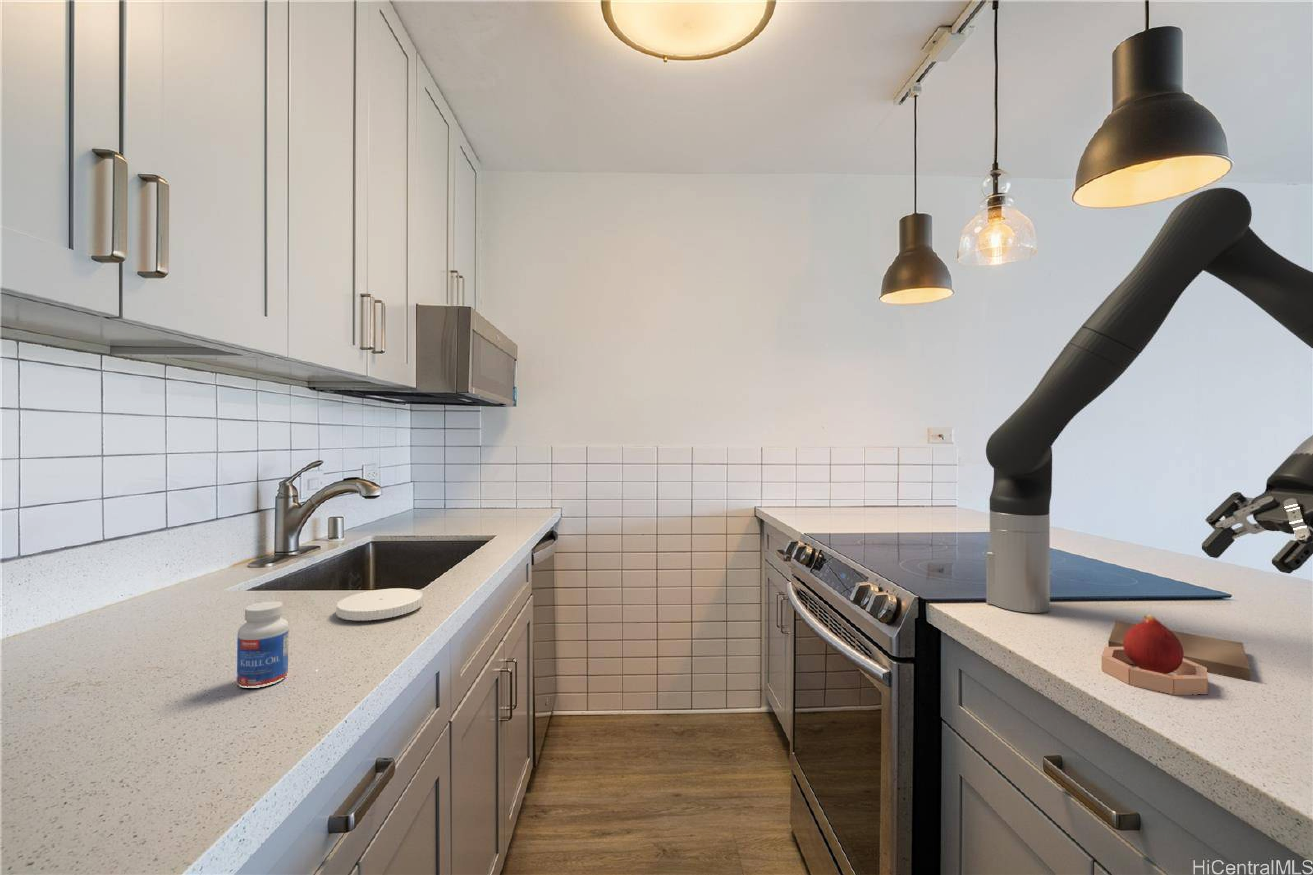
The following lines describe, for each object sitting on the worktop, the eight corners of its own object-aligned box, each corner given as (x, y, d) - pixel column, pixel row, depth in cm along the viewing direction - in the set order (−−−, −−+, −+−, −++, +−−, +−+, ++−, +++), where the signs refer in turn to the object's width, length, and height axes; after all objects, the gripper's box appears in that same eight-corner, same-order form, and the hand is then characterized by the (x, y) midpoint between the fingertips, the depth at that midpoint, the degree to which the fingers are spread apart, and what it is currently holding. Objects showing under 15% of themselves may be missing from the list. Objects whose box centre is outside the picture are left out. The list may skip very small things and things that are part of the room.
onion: (1168, 671, 73) (1168, 611, 73) (1194, 690, 68) (1194, 625, 68) (1115, 665, 75) (1115, 606, 75) (1136, 683, 70) (1136, 620, 70)
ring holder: (1099, 677, 71) (1099, 662, 71) (1106, 655, 78) (1107, 641, 78) (1208, 703, 64) (1208, 686, 64) (1205, 676, 72) (1206, 660, 72)
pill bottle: (232, 694, 67) (232, 615, 67) (241, 677, 72) (241, 603, 72) (286, 685, 70) (285, 608, 70) (291, 669, 75) (290, 597, 75)
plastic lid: (415, 622, 94) (415, 607, 94) (324, 629, 91) (324, 614, 91) (429, 599, 108) (429, 586, 108) (350, 604, 105) (350, 591, 105)
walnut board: (1108, 651, 80) (1108, 640, 80) (1115, 629, 89) (1115, 620, 89) (1249, 680, 70) (1249, 668, 70) (1242, 653, 79) (1242, 643, 79)
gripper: (1247, 450, 79) (1169, 531, 79) (1379, 452, 65) (1285, 551, 64) (1283, 486, 79) (1206, 567, 79) (1424, 497, 65) (1330, 596, 64)
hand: (1241, 560), depth 72 cm, fingers open, 8 cm apart
